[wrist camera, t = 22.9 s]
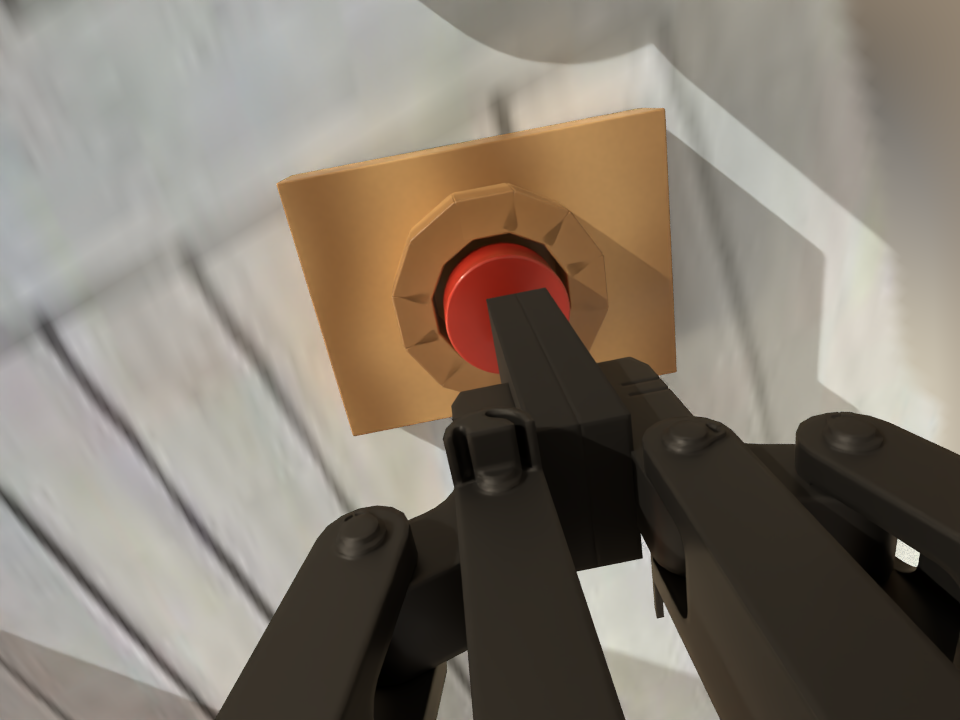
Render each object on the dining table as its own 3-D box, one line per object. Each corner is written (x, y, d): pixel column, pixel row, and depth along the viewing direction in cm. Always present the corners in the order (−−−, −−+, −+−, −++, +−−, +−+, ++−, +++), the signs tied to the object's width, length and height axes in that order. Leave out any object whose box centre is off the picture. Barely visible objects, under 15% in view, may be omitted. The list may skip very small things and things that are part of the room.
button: (455, 362, 19) (458, 386, 17) (431, 254, 18) (433, 269, 16) (564, 341, 19) (577, 362, 18) (550, 231, 18) (563, 243, 16)
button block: (359, 408, 23) (347, 464, 20) (290, 175, 20) (260, 190, 16) (655, 349, 24) (698, 394, 20) (641, 107, 20) (690, 108, 16)
